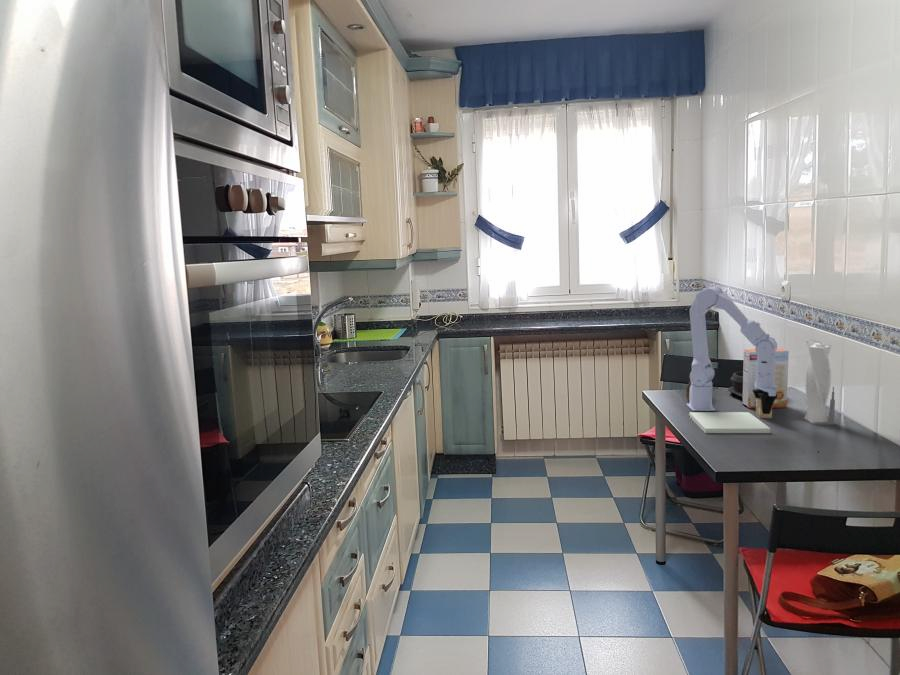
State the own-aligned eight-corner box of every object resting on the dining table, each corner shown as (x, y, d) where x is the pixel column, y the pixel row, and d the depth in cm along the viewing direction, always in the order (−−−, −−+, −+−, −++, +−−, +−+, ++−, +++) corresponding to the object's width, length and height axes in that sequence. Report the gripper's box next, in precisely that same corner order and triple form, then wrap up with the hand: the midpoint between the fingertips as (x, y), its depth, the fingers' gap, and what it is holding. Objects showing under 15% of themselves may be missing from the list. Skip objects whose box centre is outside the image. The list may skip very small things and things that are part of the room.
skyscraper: (809, 425, 228) (813, 341, 224) (798, 419, 236) (801, 337, 232) (835, 425, 228) (840, 340, 224) (823, 418, 236) (827, 337, 232)
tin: (699, 395, 272) (700, 374, 270) (707, 396, 270) (708, 375, 268) (685, 403, 260) (685, 381, 259) (693, 404, 258) (694, 382, 257)
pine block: (755, 414, 241) (756, 398, 240) (767, 414, 241) (768, 398, 240) (759, 418, 237) (760, 400, 236) (771, 418, 237) (772, 400, 236)
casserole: (725, 387, 284) (726, 367, 282) (775, 389, 278) (776, 369, 276) (729, 401, 260) (730, 380, 259) (784, 404, 254) (785, 382, 253)
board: (689, 416, 241) (689, 412, 241) (748, 416, 239) (748, 412, 239) (705, 433, 221) (705, 428, 221) (770, 433, 220) (770, 428, 219)
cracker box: (779, 403, 255) (782, 347, 252) (787, 408, 249) (789, 350, 246) (741, 404, 255) (743, 348, 252) (747, 408, 249) (750, 351, 246)
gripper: (786, 377, 229) (784, 417, 231) (769, 368, 243) (768, 406, 245) (763, 377, 230) (762, 417, 232) (749, 369, 244) (747, 406, 246)
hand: (763, 411), depth 239 cm, fingers closed on pine block, 4 cm apart
